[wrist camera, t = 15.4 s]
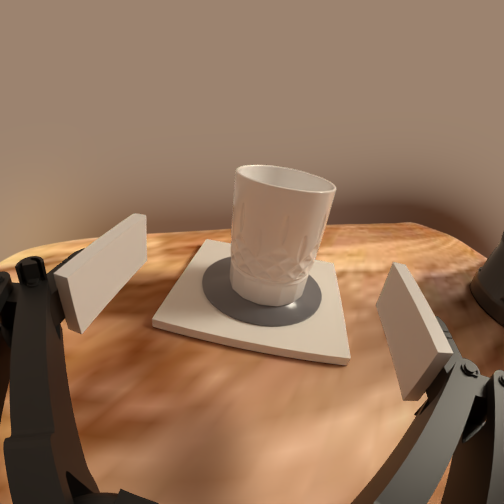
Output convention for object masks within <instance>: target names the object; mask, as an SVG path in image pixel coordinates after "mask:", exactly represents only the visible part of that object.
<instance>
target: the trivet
mask: <svg viewBox="0 0 504 504" xmlns="http://www.w3.org/2000/svg"><path fill="white" fill-rule="evenodd" d="M230 250H231V244H230V243H225V242H219V241H214V240H209V239H206V240H205V242H204V243H203V245H202V246H201V247H200V249H199V250H198V252H197V253H196V255H195V256H194V257H193V259H192V260H191V262H190V263H189V265H188V266H187V268H186V269H185V270H184V272H183V273H182V275H181V276H180V278H179V279H178V281H177V282H176V284H175V285H174V287H173V288H172V289H171V291H170V292H169V294H168V295H167V297H166V298H165V300H164V301H163V303H162V304H161V306H160V307H159V309H158V310H157V312H156V313H155V315H154V316H153V318H152V325H153V327H156V328H159V329H163V330H167V331H170V332H174V333H178V334H182V335H185V336H189V337H193V338H197V339H201V340H206V341H210V342H214V343H218V344H223V345H227V346H232V347H237V348H241V349H246V350H251V351H256V352H262V353H267V354H272V355H278V356H284V357H290V358H296V359H302V360H309V361H316V362H323V363H330V364H338V365H347V364H348V362H349V361H350V359H351V358H350V351H349V344H348V338H347V332H346V326H345V320H344V314H343V309H342V303H341V298H340V292H339V287H338V282H337V277H336V272H335V267H334V263H329V262H324V261H319V260H315V261H314V264H313V267H312V268H311V270H310V272H309V275H308V278H307V281H306V284H305V287H304V291H303V294H302V296H301V297H300V298H298V299H297V300H296V301H295V302H293V303H292V304H287V305H282V306H277V307H276V306H266V305H259V304H256V303H253V302H251V301H249V300H246V299H244V298H242V297H241V296H240V295H239V294H238V293H237V292H235V291H234V290H233V289H232V285H231V282H230V265H231V251H230Z"/></svg>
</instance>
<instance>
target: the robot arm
mask: <svg viewBox="0 0 504 504" xmlns="http://www.w3.org/2000/svg"><path fill="white" fill-rule="evenodd" d="M146 261H147V240H146V215H142V214H135V213H134V214H132V215H131V216H129V217H128V218H126V219H125V220H124V221H122V222H121V223H119V224H118V225H116V226H115V227H114V228H112V229H111V230H109V231H108V232H107V233H105V234H104V235H102V236H101V237H100V238H98V239H97V240H96V241H94V242H93V243H92V244H90V245H89V246H88V247H86V248H83V249H81V250H79V251H76V252H74V253H73V254H72V255H70V256H69V257H68V259H67V258H66V259H65V260H64V261H62V263H60V264H59V265H57V266H56V267H55V268H54V269H52V270H51V271H50V272H49V273H47V274H46V270H45V266H44V261H43V259H42V258H41V257H38V256H31V257H27V258H24V259H22V260H21V261H19V262H18V263H17V265H16V266H15V268H16V272H17V275H18V279H19V282H20V283H12V281H11V278H10V274H9V273H7V272H0V422H1V416H2V411H3V406H4V401H5V396H6V392H7V388H8V384H9V380H10V418H11V437H9V438H5V440H4V448H3V450H4V458H5V465H6V472H7V478H8V483H9V488H10V493H11V497H12V502H13V504H158V503H156V502H153V501H151V500H148V499H145V498H142V497H140V496H137V495H134V494H132V493H129V492H127V491H125V490H122V489H120V491H119V494H116V493H100V492H99V489H98V487H97V485H96V483H95V481H94V479H93V477H92V475H91V474H90V472H89V470H88V467H87V464H86V461H85V458H84V454H83V451H82V447H81V443H80V439H79V435H78V431H77V427H76V423H75V418H74V413H73V408H72V403H71V398H70V392H69V386H68V379H67V372H66V364H65V356H64V345H63V333H62V327H61V324H60V323H61V322H62V321H63V320H64V319H66V322H67V326H68V329H70V330H73V331H75V332H77V333H80V334H83V332H84V331H85V330H86V329H87V328H88V326H89V325H90V324H91V323H92V322H93V320H94V319H95V318H96V317H97V316H98V315H99V313H100V312H101V311H102V310H103V309H104V308H105V306H106V305H107V304H108V303H109V302H110V301H111V300H112V298H113V297H114V296H115V295H116V294H117V293H118V292H119V291H120V289H121V288H122V287H123V286H124V285H125V284H126V283H127V282H128V281H129V280H130V278H131V277H132V276H133V275H134V274H135V273H136V272H137V271H138V270H139V269H140V268H141V267H142V265H143V264H144V263H145V262H146ZM470 288H471V292H472V294H473V296H474V297H475V299H476V300H477V302H478V303H479V304H480V305H481V306H482V308H483V309H484V310H485V311H486V312H487V313H488V314H490V315H491V316H492V317H493V318H494V319H495V320H497V321H498V322H499V323H501V324H502V325H503V326H504V232H503V235H502V238H501V240H500V242H499V244H498V246H497V247H496V249H495V250H494V251H493V252H492V254H491V255H490V257H489V258H488V259H487V261H486V262H485V263H484V265H483V267H480V268H479V269H478V270H477V272H476V273H475V276H474V278H473V280H472V282H471V285H470ZM376 307H377V310H378V313H379V316H380V319H381V323H382V326H383V329H384V332H385V336H386V339H387V342H388V346H389V349H390V353H391V356H392V360H393V363H394V367H395V371H396V375H397V378H398V382H399V386H400V390H401V395H402V399H403V401H418V400H419V399H420V398H421V396H422V395H423V394H424V393H425V392H426V394H427V397H428V399H427V400H426V401H425V403H424V404H423V405H422V406H421V407H420V408H419V409H418V411H417V412H416V413H415V414H414V415H417V416H416V417H415V419H414V420H413V422H412V424H411V425H410V427H409V428H408V430H407V432H406V433H405V435H404V436H403V438H402V439H401V441H400V442H399V444H398V445H397V446H396V448H395V449H394V451H393V452H392V454H391V455H390V456H389V458H388V459H387V460H386V462H385V463H384V464H383V466H382V467H381V468H380V470H379V471H378V472H377V473H376V475H375V476H374V477H373V478H372V480H371V481H370V482H369V483H368V484H367V486H366V487H365V488H364V489H363V490H362V491H361V493H360V494H359V495H358V496H357V497H356V498H355V499H354V500H353V502H352V503H351V504H427V503H428V501H429V499H430V498H431V496H432V494H433V492H434V491H435V489H436V487H437V485H438V483H439V482H440V480H441V478H442V476H443V474H444V472H445V470H446V468H447V466H448V464H449V462H450V460H451V457H452V455H453V457H452V462H451V466H450V471H449V475H448V479H447V483H446V487H445V491H444V494H443V498H442V501H441V504H504V371H502V370H496V371H495V373H494V374H493V375H492V376H491V378H489V377H486V376H482V375H480V371H479V369H478V367H477V366H476V365H475V364H474V363H473V362H472V361H470V360H468V359H465V358H462V356H461V354H460V352H459V350H458V348H457V346H456V344H455V342H454V340H453V339H452V336H451V334H450V333H449V330H448V328H447V327H446V325H445V323H444V322H443V321H442V320H441V319H440V318H439V317H438V316H435V315H434V313H433V311H432V310H431V308H430V306H429V304H428V302H427V301H426V299H425V297H424V295H423V294H422V292H421V290H420V288H419V287H418V285H417V283H416V281H415V280H414V278H413V276H412V275H411V273H410V271H409V270H408V268H407V267H406V265H405V264H400V263H395V262H393V263H392V266H391V269H390V271H389V274H388V276H387V279H386V282H385V284H384V286H383V289H382V291H381V294H380V296H379V299H378V301H377V303H376ZM485 421H486V422H485Z"/></svg>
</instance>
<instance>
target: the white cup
mask: <svg viewBox="0 0 504 504" xmlns="http://www.w3.org/2000/svg"><path fill="white" fill-rule="evenodd" d="M335 192H336V186H335V185H334V184H332V183H331V182H330V181H328V180H326V179H324V178H322V177H319V176H316V175H313V174H310V173H307V172H303V171H299V170H295V169H290V168H284V167H278V166H268V165H246V166H241V167H238V168H237V169H236V174H235V189H234V200H233V214H232V227H231V250H230V251H231V265H230V282H231V285H232V289H233V290H234V291H235V292H237V293H238V294H239V295H240V296H241V297H242V298H244V299H246V300H249V301H251V302H253V303H256V304H259V305H266V306H276V307H277V306H282V305H287V304H292V303H293V302H295V301H296V300H297V299H298V298H300V297H301V296H302V294H303V291H304V287H305V284H306V281H307V278H308V275H309V272H310V270H311V268H312V267H313V264H314V261H315V258H316V255H317V252H318V250H319V247H320V244H321V240H322V237H323V234H324V230H325V227H326V223H327V220H328V216H329V213H330V210H331V206H332V203H333V199H334V196H335Z"/></svg>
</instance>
